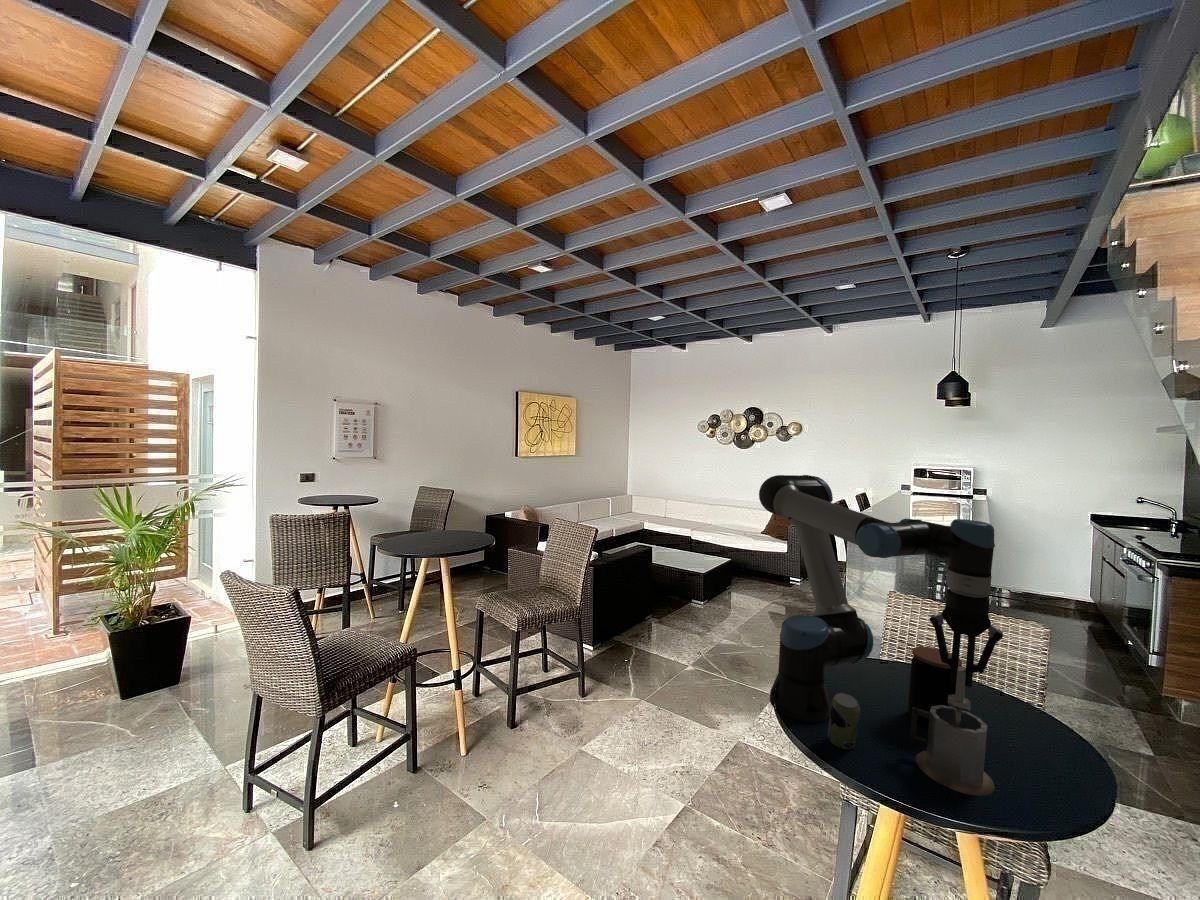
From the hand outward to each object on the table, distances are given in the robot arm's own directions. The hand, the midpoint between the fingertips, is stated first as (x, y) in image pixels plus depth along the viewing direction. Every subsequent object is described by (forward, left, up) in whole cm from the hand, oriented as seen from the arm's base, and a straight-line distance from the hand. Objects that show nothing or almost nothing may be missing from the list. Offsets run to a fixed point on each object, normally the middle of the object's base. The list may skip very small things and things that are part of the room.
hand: (959, 698), depth 106 cm
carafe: (-2, 0, -17) cm, 17 cm away
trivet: (0, 0, -17) cm, 17 cm away
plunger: (0, 0, -13) cm, 13 cm away
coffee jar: (-6, +20, -17) cm, 27 cm away
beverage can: (-21, -7, -17) cm, 28 cm away
